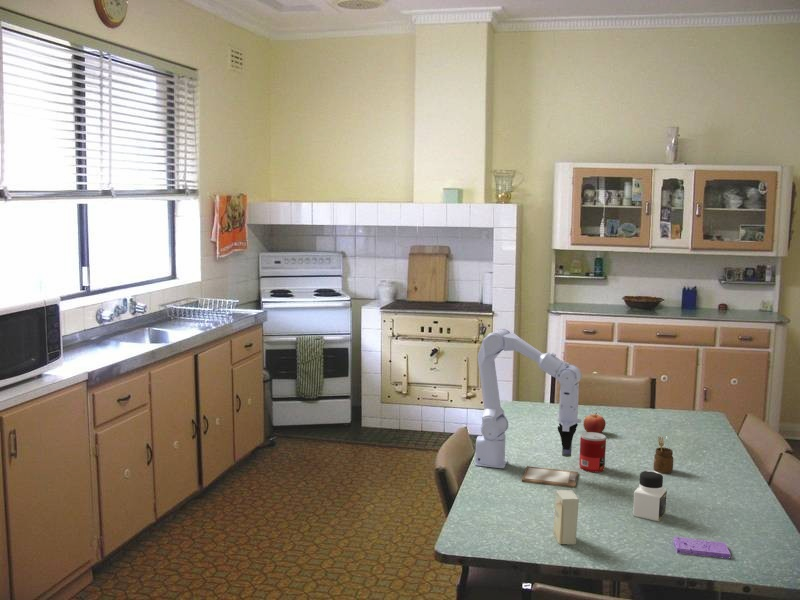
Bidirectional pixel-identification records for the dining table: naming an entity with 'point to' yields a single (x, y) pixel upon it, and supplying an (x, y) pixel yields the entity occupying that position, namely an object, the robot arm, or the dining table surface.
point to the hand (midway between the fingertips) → (566, 447)
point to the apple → (594, 423)
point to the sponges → (701, 547)
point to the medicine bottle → (650, 496)
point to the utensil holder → (663, 459)
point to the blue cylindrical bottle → (567, 452)
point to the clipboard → (550, 476)
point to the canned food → (592, 451)
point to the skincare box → (565, 517)
